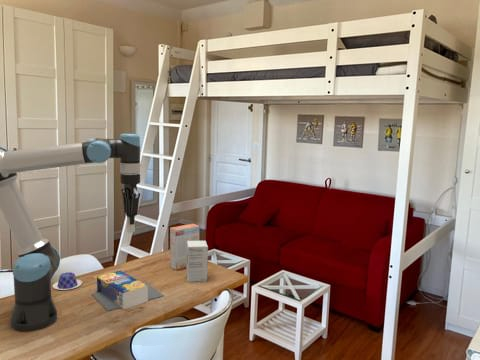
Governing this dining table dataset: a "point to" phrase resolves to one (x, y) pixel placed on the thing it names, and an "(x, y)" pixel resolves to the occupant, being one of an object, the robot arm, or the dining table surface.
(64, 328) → the dining table surface
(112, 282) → the beverage box
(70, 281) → the pudding
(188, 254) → the supplement box
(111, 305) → the mat
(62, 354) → the dining table surface
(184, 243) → the cracker box
